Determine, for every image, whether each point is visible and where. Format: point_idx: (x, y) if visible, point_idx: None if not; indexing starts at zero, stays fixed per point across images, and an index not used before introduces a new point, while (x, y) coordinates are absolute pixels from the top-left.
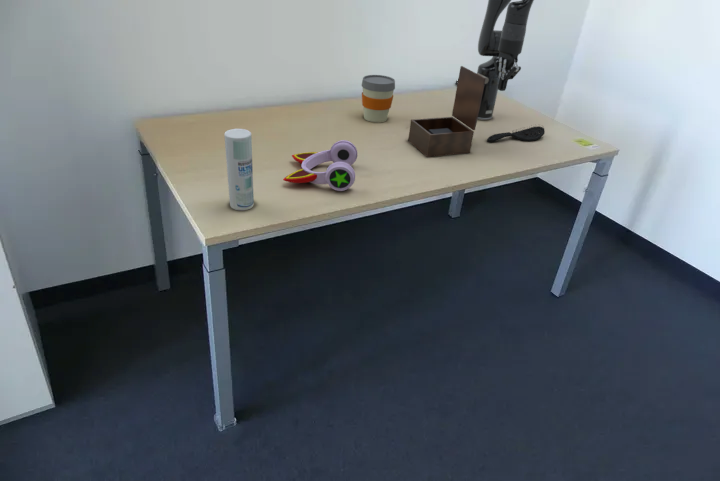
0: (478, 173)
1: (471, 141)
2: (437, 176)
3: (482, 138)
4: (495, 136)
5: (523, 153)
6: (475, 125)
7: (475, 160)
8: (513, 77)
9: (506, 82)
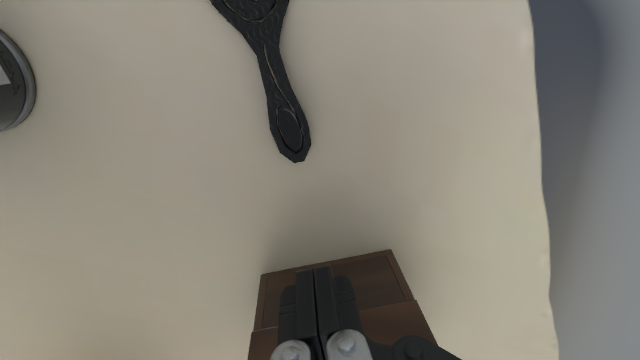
0: (522, 266)
1: (402, 275)
2: (508, 354)
3: (264, 165)
4: (289, 132)
5: (418, 58)
6: (423, 316)
7: (443, 248)
8: (449, 355)
9: (360, 325)
